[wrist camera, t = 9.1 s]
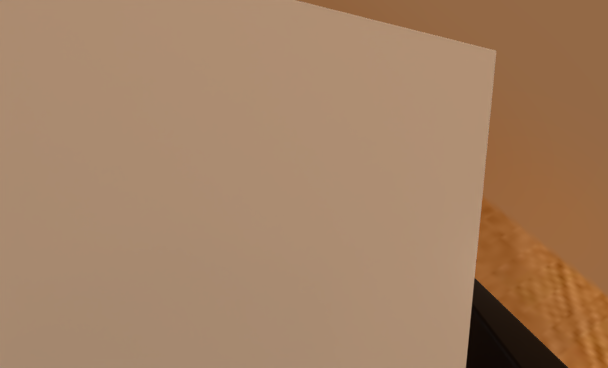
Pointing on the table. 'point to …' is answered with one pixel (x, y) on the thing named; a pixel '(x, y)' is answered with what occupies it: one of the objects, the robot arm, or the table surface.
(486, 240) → the table surface
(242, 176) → the tall white pillar block
